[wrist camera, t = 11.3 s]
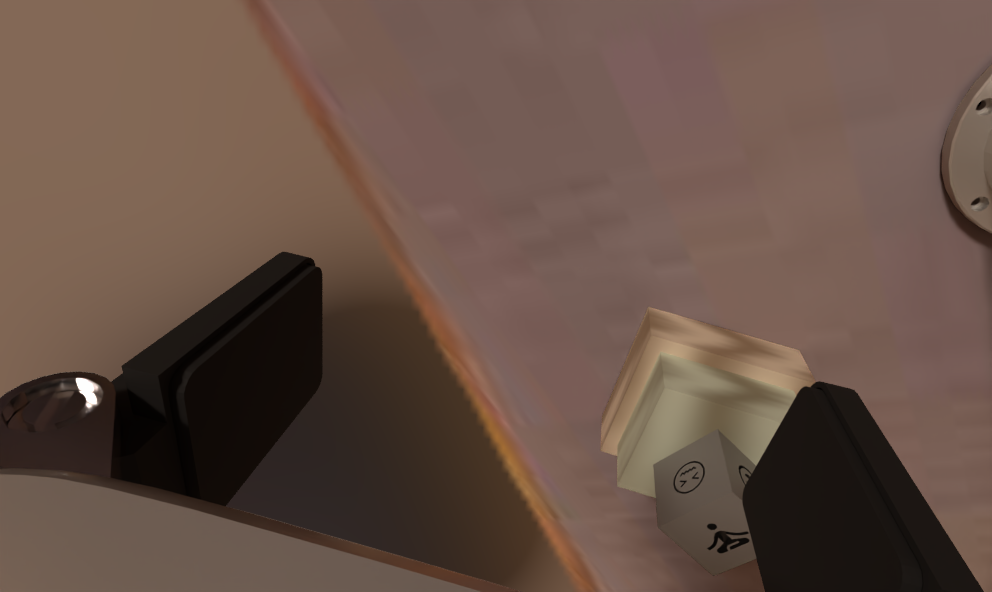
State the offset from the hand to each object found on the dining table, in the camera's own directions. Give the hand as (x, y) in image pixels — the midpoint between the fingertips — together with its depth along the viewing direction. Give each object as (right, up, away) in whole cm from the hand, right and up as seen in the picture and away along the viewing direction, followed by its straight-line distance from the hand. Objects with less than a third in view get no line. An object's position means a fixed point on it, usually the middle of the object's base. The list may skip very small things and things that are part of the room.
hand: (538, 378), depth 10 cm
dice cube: (+13, -10, +24) cm, 29 cm away
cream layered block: (+14, -5, +31) cm, 34 cm away
